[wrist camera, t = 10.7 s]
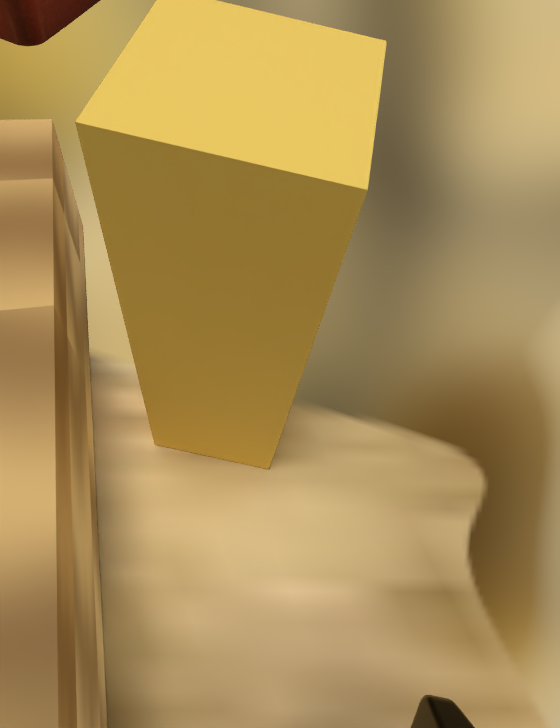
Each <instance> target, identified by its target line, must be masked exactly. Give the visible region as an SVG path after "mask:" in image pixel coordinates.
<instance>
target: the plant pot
mask: <svg viewBox="0 0 560 728" xmlns="http://www.w3.org/2000/svg"><path fill="white" fill-rule="evenodd" d="M99 1H100V0H0V38H1V39H4V40H6V41H9V42H12V43H14V44H17V45H22V46H34V45H39V44H42V43H44V42H45V41H47V40H48V39H49V38H51V37H52V36H54V35H55V34H56V33H58V32H59V31H60V30H61V29H63V28H64V27H66V26H67V25H68V24H70V23H71V22H72V21H74V20H75V19H76V18H78V17H79V16H80V15H82V14H83V13H84V12H85V11H87V10H88V9H89V8H91V7H92V6H93V5H95V4H96V3H97V2H99Z"/></svg>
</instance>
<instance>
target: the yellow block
mask: <svg viewBox="0 0 560 728" xmlns="http://www.w3.org/2000/svg"><path fill="white" fill-rule="evenodd" d="M385 49H386V41H384V40H380V39H376V38H371V37H367V36H363V35H359V34H355V33H350V32H346V31H342V30H338V29H334V28H329V27H325V26H321V25H317V24H313V23H309V22H305V21H300V20H296V19H292V18H288V17H283V16H279V15H275V14H271V13H266V12H263V11H259V10H254V9H250V8H246V7H242V6H238V5H233V4H229V3H225V2H221V1H217V0H156V2H155V3H154V5H153V6H152V8H151V9H150V11H149V12H148V14H147V15H146V17H145V18H144V20H143V21H142V23H141V24H140V26H139V27H138V29H137V30H136V32H135V33H134V35H133V36H132V38H131V39H130V41H129V42H128V44H127V45H126V47H125V48H124V50H123V51H122V53H121V54H120V56H119V57H118V59H117V60H116V62H115V63H114V65H113V66H112V68H111V69H110V71H109V72H108V74H107V75H106V77H105V78H104V80H103V81H102V83H101V84H100V86H99V87H98V89H97V90H96V92H95V93H94V95H93V96H92V98H91V99H90V101H89V102H88V104H87V105H86V107H85V108H84V110H83V111H82V113H81V114H80V116H79V117H78V119H77V120H76V122H75V123H76V127H77V131H78V135H79V139H80V143H81V147H82V151H83V156H84V159H85V163H86V167H87V172H88V176H89V180H90V184H91V188H92V192H93V196H94V200H95V204H96V208H97V212H98V216H99V220H100V224H101V229H102V232H103V236H104V241H105V245H106V249H107V253H108V257H109V261H110V265H111V269H112V273H113V276H114V281H115V285H116V289H117V293H118V297H119V301H120V306H121V310H122V313H123V318H124V321H125V325H126V330H127V333H128V338H129V342H130V346H131V350H132V354H133V358H134V362H135V366H136V370H137V374H138V378H139V383H140V387H141V391H142V395H143V399H144V403H145V407H146V411H147V415H148V419H149V423H150V427H151V431H152V435H153V439H154V443H155V445H159V446H164V447H168V448H173V449H177V450H182V451H187V452H191V453H196V454H200V455H205V456H209V457H214V458H219V459H223V460H228V461H232V462H237V463H241V464H246V465H251V466H255V467H260V468H264V469H269V468H270V465H271V462H272V459H273V456H274V453H275V451H276V448H277V445H278V442H279V439H280V436H281V434H282V431H283V428H284V425H285V422H286V419H287V417H288V414H289V411H290V408H291V405H292V402H293V400H294V397H295V394H296V391H297V388H298V385H299V382H300V379H301V377H302V374H303V371H304V368H305V365H306V362H307V360H308V357H309V354H310V351H311V349H312V346H313V343H314V340H315V337H316V334H317V331H318V329H319V326H320V322H321V320H322V317H323V315H324V311H325V309H326V306H327V303H328V300H329V297H330V295H331V292H332V289H333V286H334V283H335V281H336V277H337V275H338V272H339V269H340V266H341V263H342V260H343V258H344V255H345V252H346V249H347V246H348V243H349V241H350V238H351V235H352V232H353V229H354V227H355V224H356V221H357V218H358V215H359V212H360V210H361V207H362V204H363V201H364V198H365V195H366V193H367V189H368V182H369V173H370V166H371V158H372V151H373V143H374V135H375V127H376V120H377V112H378V104H379V96H380V89H381V81H382V72H383V65H384V57H385Z"/></svg>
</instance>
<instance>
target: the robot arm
mask: <svg viewBox="0 0 560 728" xmlns="http://www.w3.org/2000/svg"><path fill="white" fill-rule="evenodd" d="M411 728H475V727H474V726H473V725H472V724H471V722H470V721H469V720H468V719H467V717H466V716H465V715H464V714H463V712H462V711H461V710H460V709H459V707H458V706H457V705H456V704H455V703H454V702H453V701H452V700H450V699H447V698H442V697H437V696H432V695H425V696H424V697H423V698H422V699H421V701H420V703H419V706H418V709H417V712H416V715H415V717H414V720H413V723H412V726H411Z"/></svg>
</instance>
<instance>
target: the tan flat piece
mask: <svg viewBox="0 0 560 728" xmlns="http://www.w3.org/2000/svg"><path fill="white" fill-rule="evenodd" d="M88 340H89V339H88V320H87V298H86V278H85V259H84V238H83V225H82V221H81V218H80V215H79V211H78V208H77V204H76V201H75V197H74V194H73V190H72V187H71V183H70V180H69V176H68V173H67V170H66V166H65V163H64V159H63V156H62V152H61V149H60V145H59V142H58V138H57V135H56V131H55V128H54V124H53V121H52V119H34V120H33V119H32V120H0V728H108V725H107V705H106V685H105V664H104V644H103V624H102V603H101V583H100V563H99V542H98V522H97V502H96V481H95V461H94V441H93V420H92V400H91V380H90V359H89V341H88Z"/></svg>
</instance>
